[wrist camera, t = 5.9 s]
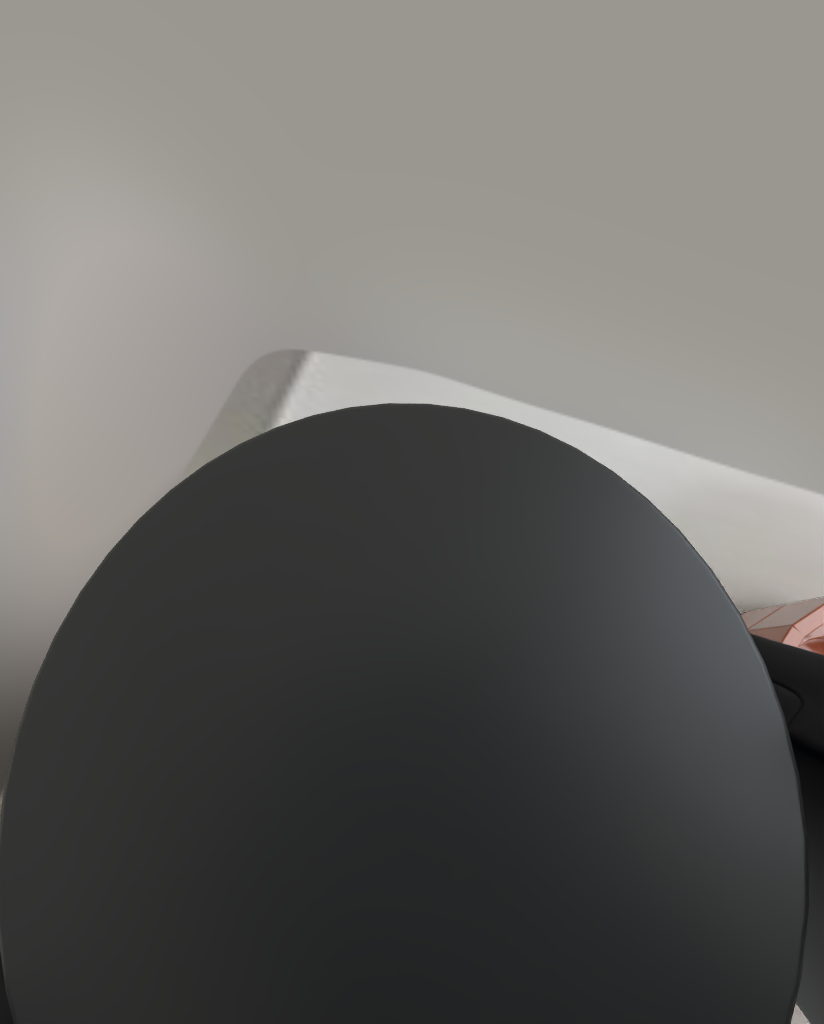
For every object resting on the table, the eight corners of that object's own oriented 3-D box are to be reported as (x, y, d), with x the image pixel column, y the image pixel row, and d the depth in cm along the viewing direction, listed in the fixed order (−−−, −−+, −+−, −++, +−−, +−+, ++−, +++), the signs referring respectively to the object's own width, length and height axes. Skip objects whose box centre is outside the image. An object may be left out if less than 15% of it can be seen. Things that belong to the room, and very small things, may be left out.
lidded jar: (549, 682, 13) (959, 711, 3) (424, 843, 12) (404, 1884, 2) (415, 560, 15) (387, 308, 5) (290, 690, 14) (-144, 743, 3)
